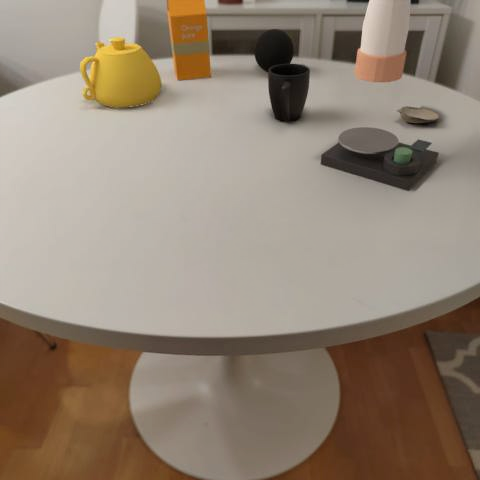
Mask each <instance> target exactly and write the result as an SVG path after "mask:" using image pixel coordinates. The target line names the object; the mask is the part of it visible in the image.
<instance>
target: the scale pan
mask: <svg viewBox="0 0 480 480" xmlns="http://www.w3.org/2000/svg"><path fill="white" fill-rule="evenodd" d="M337 139H338V140H337V141H338V143H340V144H341V145H342V146H343V147H344V148H346V149H348V150H351V151H354V152H358V153H365V154H380V153H386V152H389V151H392V150H394V149H395V148H396V147H397V146H398V142H399V138H398V137H397V135H396V134H394V133H392V132H391V131H389V130H386V129H382V128H378V127H369V126H363V127H362V126H361V127H360V126H359V127H353V128H348V129H346V130H344V131H342V132H341V133H340V134H339V135H338V138H337ZM399 143H400V142H399ZM432 143H433V142H431V141H427V140H423V139H417V140H416V141H414V142H413V143H412V144H411V146H410V147H409V149H411V150H415V151H419V152H423V151H424V150H428V148H429V147H430V146H431V145H432Z"/></svg>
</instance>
